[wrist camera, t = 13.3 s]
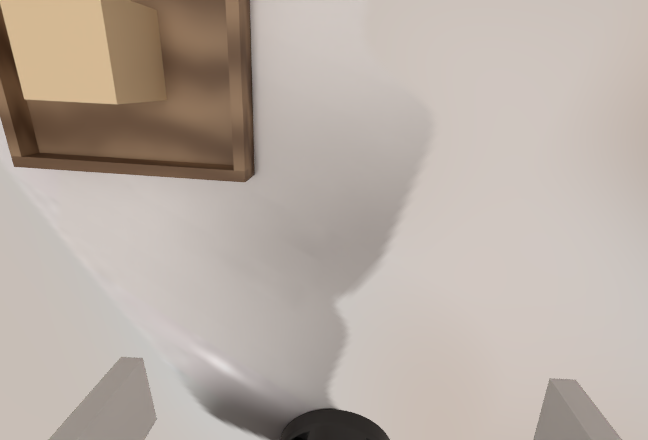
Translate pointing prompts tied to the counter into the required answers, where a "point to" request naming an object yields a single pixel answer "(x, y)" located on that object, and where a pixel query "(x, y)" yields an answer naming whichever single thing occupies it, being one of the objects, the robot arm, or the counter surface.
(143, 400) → the robot arm
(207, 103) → the tray
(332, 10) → the counter surface
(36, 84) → the tan block
